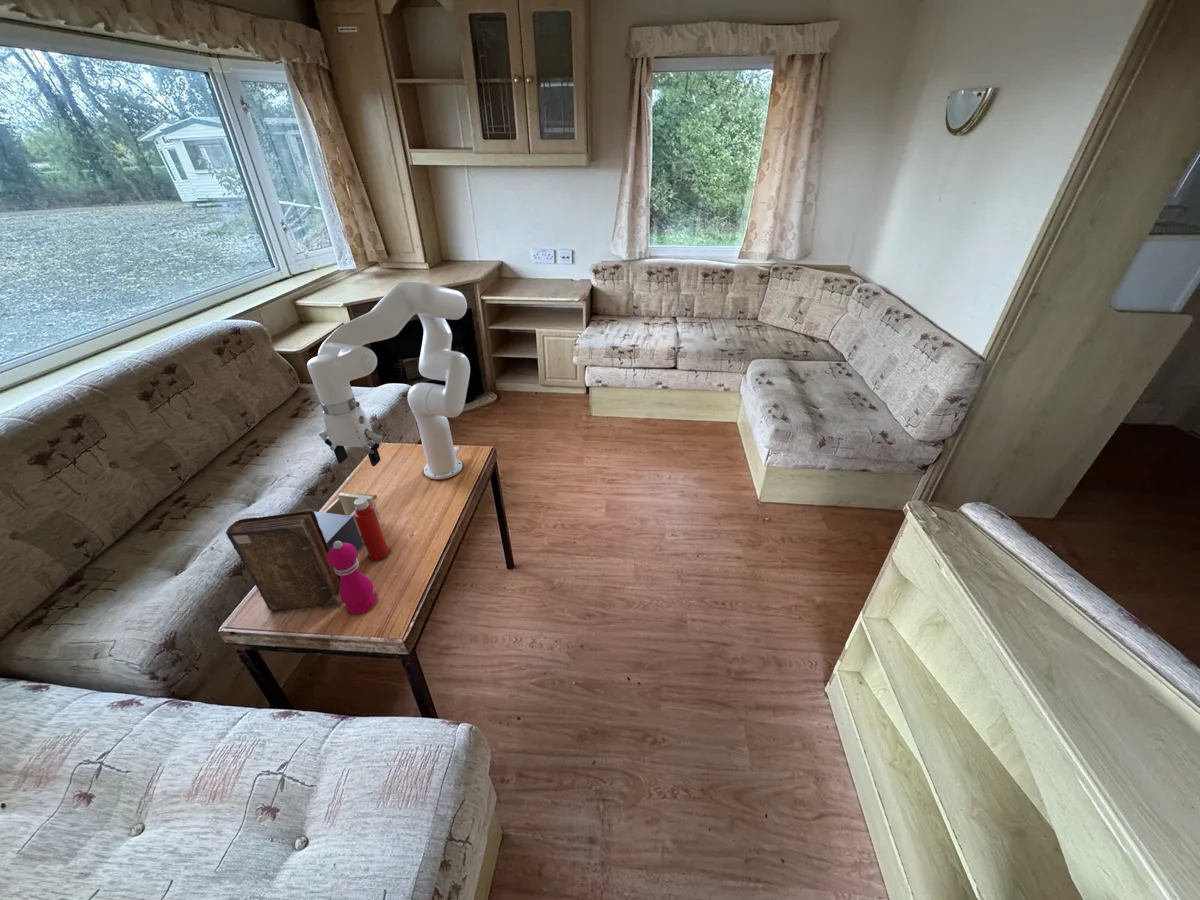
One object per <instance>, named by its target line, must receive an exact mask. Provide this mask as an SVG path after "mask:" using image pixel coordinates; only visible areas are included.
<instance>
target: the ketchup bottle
mask: <svg viewBox="0 0 1200 900" xmlns="http://www.w3.org/2000/svg"><path fill="white" fill-rule="evenodd" d="M354 505H355V512H354V516H355V519H356V522H357V524H358V527H359V530H360V533H361V535H362V536H361V539H362V542H363V544H364V546H365V548H366V552H367V554H368V557H369V559H370V560H372V561H381V560H383V559H385V558H386V557H387V556H388V555H389V552H390V551H389V548H388V546H387V542H386V539H385V536H384V534H383V531H382V528H381V525H380V522H379V521H380V520H379V521H378V518H377V516H376V513H375V510H374V507H373V506H370V504H369V503H368V501H367V499H366V498H365V497H361V498H358V499H356V500H355V501H354Z"/></svg>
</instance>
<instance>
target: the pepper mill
mask: <svg viewBox="0 0 1200 900" xmlns="http://www.w3.org/2000/svg"><path fill="white" fill-rule="evenodd" d="M327 561H328V563H329V565H330V566H332V567H333V568H334V570H335V573H336V574H338V575H339V576H340V582H341V583H340V589H338V594H339V595H338V596H339V598H340V601H341V602H342V603H343V604H344V605H345V606H346V609H347V611H348V612H349V613H351V614H353V615H354V614H355V615H358V614H359V615H360V614H363V613H366V612H367V611H369V610H370V609H372V608H373V606H374V605H375V603H376V600H377V599H376V595H375V593H374V584H373V582H372V580H371V578H369V577H368V576H366V575H365V574H363V573H362V572H361V570H360V568H359V565H360V562H359V559H358V551H357V550H356V548H355V547H354V546H353V545H352V544H349V543H342V542H341V541H336V542H334V544H333V547H332V548H331V549H330V550H329V552H328V554H327Z"/></svg>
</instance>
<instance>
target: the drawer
mask: <svg viewBox="0 0 1200 900" xmlns="http://www.w3.org/2000/svg"><path fill="white" fill-rule="evenodd" d="M337 496H338V498H337V499H335V500H334V501H333V502H332V503H331V504H330V505H329V506H328V507H327V508H325V509H324V511H323V512H324V513H332V514H340V515H348V516H353V519H354V521H355V524H356V526H357V529H358V532H359V534H360V537H361V538H362V535H361V533H360V530H359V527H358V524H357V522H356V519H355V516H354V512H355V505H354V501H355V500H356V499H358V498H361V497H365V498H366V499H367V501H368V503H369V504H370V506H373V507H374V510H375V513H376V516H377V518H378V521H380V520H381V517H380V514H379V511H378V508H377V505H376V502H375V500H377V499H378V495H377V494H373V493H372V494H371V493H361V492H357V493H356V494H353V493H348V492H347V493H346V492H339V493H338V494H337Z"/></svg>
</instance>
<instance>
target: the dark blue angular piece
mask: <svg viewBox="0 0 1200 900" xmlns="http://www.w3.org/2000/svg"><path fill="white" fill-rule="evenodd" d="M314 512H315V515H316V517H317V520H318V523H319V527H320V528H321V530H322V532H323V536H324V538H325V540H326V543H327V545H328V547H329V549H331V548H332V547H333V544H334V542H336V541H341V542H342V543H349V544H352V545H353V546H354V547H355V548H356V550H357V552H358V551H359V550H360V548H361V547H363V545H364V541H363V539H362V536H361V537H360V534H359V532H358V529H357V526H356V524H355V521H354V519H353V516H348V515H340V514H332V513H324V511H315V510H314Z"/></svg>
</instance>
